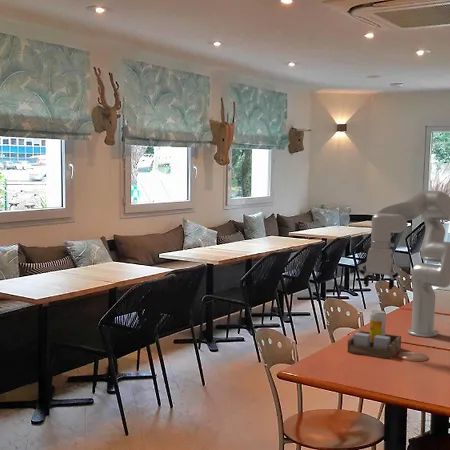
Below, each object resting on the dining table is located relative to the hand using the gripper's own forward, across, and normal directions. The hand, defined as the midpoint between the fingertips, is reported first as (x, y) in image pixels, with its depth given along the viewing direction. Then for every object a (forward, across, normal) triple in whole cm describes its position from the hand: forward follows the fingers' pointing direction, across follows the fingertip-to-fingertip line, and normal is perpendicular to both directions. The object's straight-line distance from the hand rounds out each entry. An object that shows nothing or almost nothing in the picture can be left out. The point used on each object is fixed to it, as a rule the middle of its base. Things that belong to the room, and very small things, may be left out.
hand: (378, 287), depth 251 cm
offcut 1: (+25, +4, +7) cm, 26 cm away
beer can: (+25, 0, -1) cm, 25 cm away
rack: (+25, 0, +3) cm, 25 cm away
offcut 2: (+25, -4, +7) cm, 26 cm away
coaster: (+25, -16, +5) cm, 30 cm away
